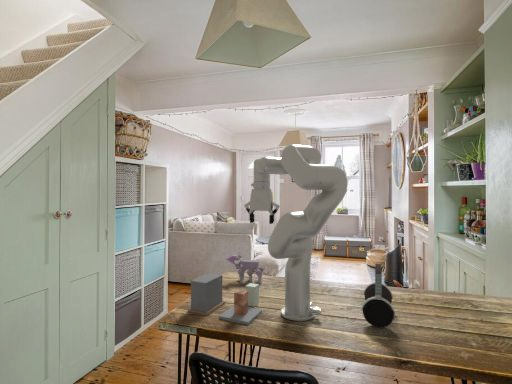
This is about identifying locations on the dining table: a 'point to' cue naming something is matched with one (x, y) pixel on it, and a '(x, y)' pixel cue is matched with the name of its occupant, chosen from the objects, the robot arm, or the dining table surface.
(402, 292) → the dining table surface
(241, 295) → the terracotta block
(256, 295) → the sage block
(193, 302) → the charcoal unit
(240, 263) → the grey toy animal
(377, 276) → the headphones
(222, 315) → the mat
